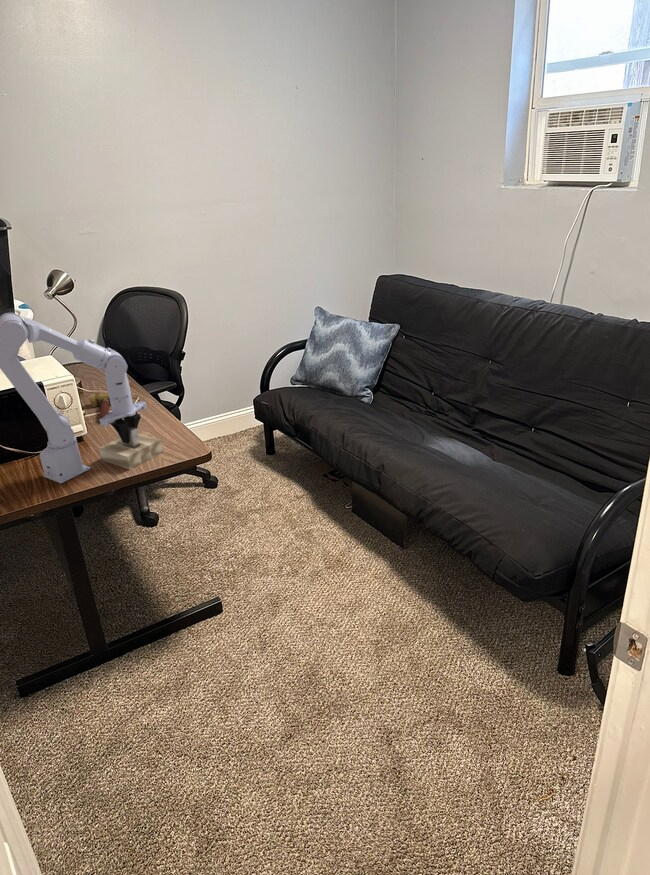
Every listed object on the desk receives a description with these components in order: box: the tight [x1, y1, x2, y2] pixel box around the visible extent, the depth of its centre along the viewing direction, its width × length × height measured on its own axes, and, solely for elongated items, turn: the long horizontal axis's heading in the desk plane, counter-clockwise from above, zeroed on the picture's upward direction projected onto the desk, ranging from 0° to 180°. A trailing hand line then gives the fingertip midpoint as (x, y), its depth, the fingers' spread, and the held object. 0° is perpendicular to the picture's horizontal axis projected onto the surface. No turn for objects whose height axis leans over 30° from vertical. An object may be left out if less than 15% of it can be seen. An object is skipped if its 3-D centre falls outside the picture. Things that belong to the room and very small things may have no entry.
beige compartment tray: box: [98, 432, 164, 471], centre depth 172 cm, size 12×12×4 cm
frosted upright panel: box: [118, 426, 140, 449], centre depth 171 cm, size 2×6×9 cm, turn 56°
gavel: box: [89, 392, 111, 419], centre depth 205 cm, size 21×5×10 cm
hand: (129, 440), depth 171 cm, fingers closed on frosted upright panel, 2 cm apart
